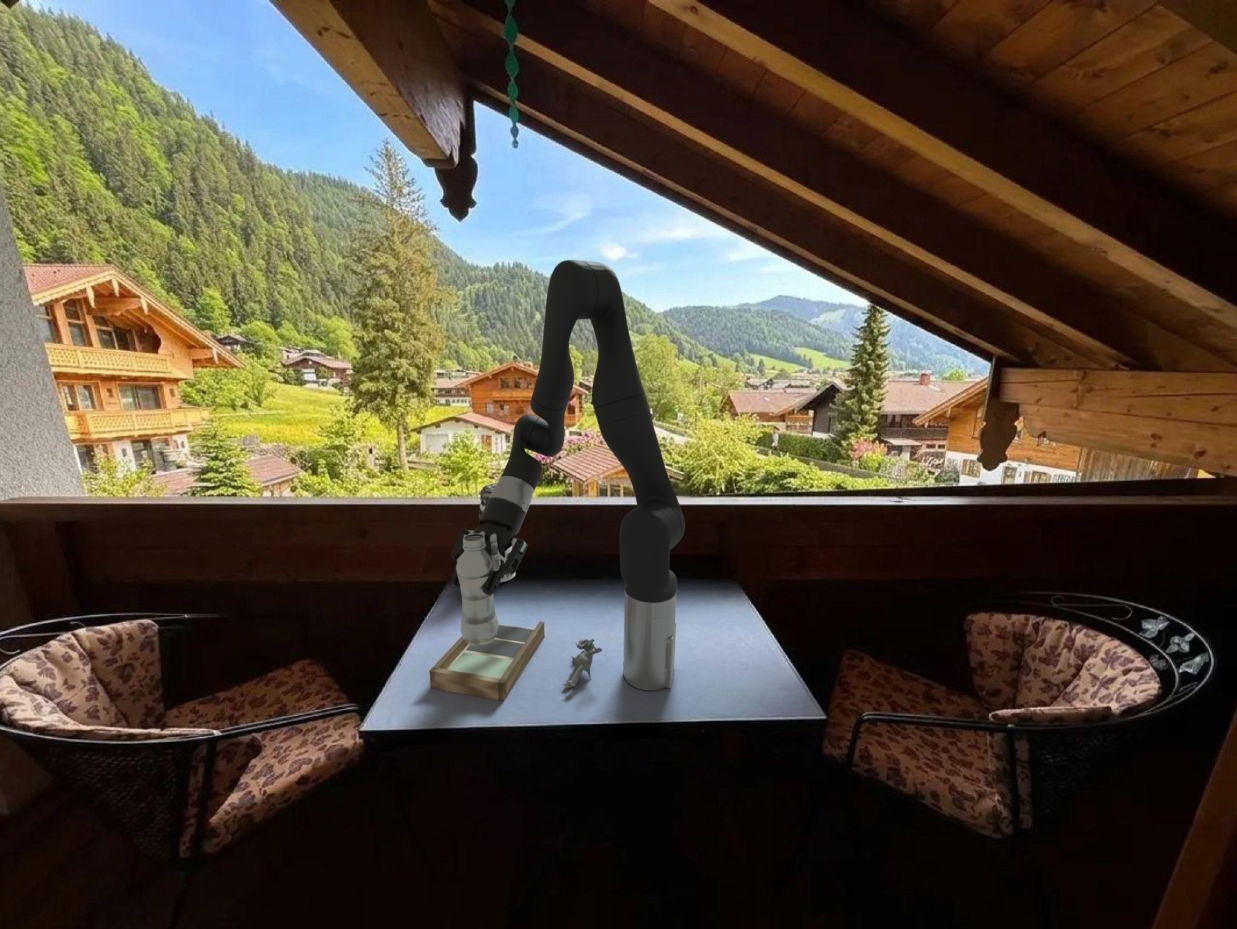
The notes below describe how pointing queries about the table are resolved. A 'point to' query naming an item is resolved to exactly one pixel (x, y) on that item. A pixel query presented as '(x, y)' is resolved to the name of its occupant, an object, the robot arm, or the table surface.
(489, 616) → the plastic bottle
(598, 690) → the table surface
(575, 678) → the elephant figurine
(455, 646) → the box
